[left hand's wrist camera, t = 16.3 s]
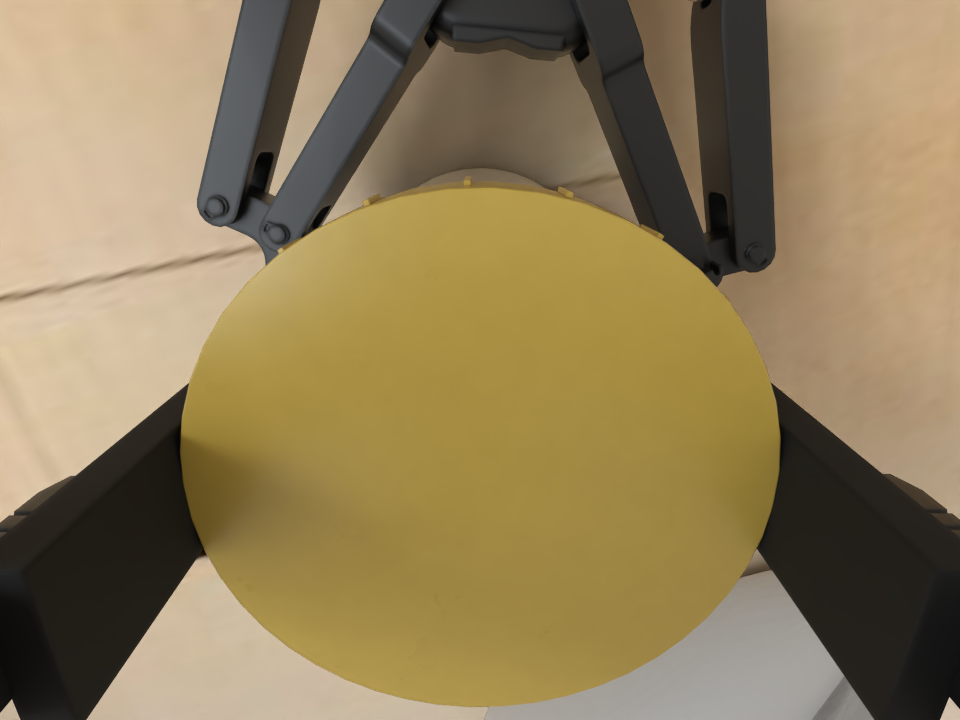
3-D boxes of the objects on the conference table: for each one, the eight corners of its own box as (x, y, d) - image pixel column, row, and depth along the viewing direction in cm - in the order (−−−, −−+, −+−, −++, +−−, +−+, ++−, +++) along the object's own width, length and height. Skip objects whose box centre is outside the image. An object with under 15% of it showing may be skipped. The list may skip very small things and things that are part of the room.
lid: (245, 641, 14) (216, 703, 12) (176, 164, 10) (120, 167, 8) (693, 654, 14) (719, 717, 13) (800, 188, 10) (858, 196, 9)
